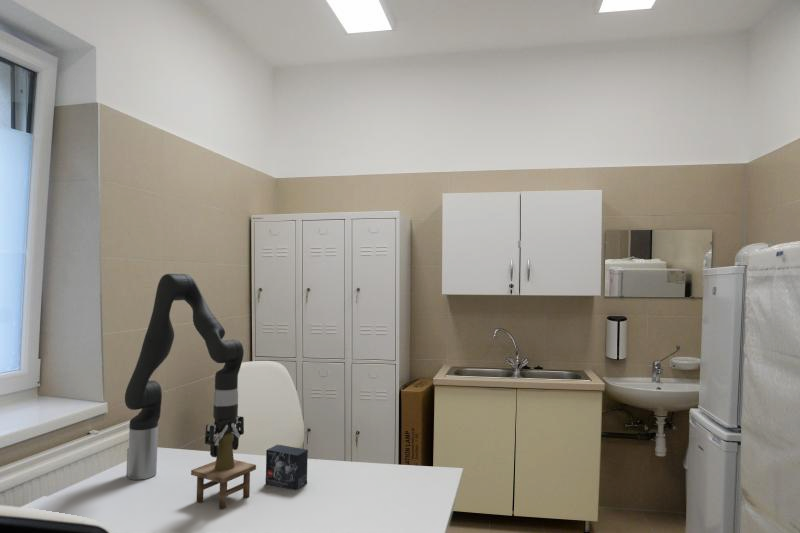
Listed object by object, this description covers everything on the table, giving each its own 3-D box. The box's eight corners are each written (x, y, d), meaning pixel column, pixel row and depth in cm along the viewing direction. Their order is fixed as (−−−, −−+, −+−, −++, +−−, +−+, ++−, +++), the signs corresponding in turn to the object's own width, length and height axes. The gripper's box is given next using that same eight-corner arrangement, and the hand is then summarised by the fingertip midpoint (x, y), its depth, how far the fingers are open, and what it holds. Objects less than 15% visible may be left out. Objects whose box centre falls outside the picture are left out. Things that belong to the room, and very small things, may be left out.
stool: (190, 502, 167) (191, 470, 167) (224, 487, 179) (225, 457, 179) (222, 511, 160) (223, 478, 160) (255, 495, 172) (256, 464, 173)
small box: (264, 484, 182) (265, 449, 183) (276, 477, 189) (277, 444, 189) (297, 490, 177) (297, 454, 178) (307, 483, 184) (308, 449, 184)
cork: (228, 471, 167) (229, 436, 167) (211, 469, 168) (212, 434, 168) (237, 464, 173) (238, 430, 173) (220, 463, 174) (221, 429, 174)
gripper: (233, 396, 179) (232, 445, 178) (199, 405, 166) (198, 457, 165) (250, 399, 175) (249, 449, 174) (217, 408, 162) (215, 461, 162)
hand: (224, 453), depth 170 cm, fingers open, 8 cm apart
